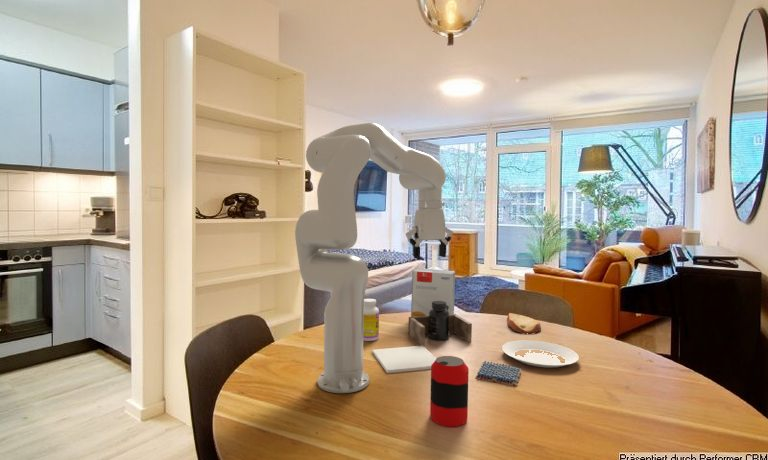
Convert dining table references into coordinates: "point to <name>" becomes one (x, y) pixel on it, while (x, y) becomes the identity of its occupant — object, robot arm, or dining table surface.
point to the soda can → (449, 391)
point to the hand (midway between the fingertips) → (429, 257)
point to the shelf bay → (456, 325)
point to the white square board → (404, 358)
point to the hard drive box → (431, 290)
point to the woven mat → (499, 373)
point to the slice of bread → (523, 323)
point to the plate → (540, 358)
